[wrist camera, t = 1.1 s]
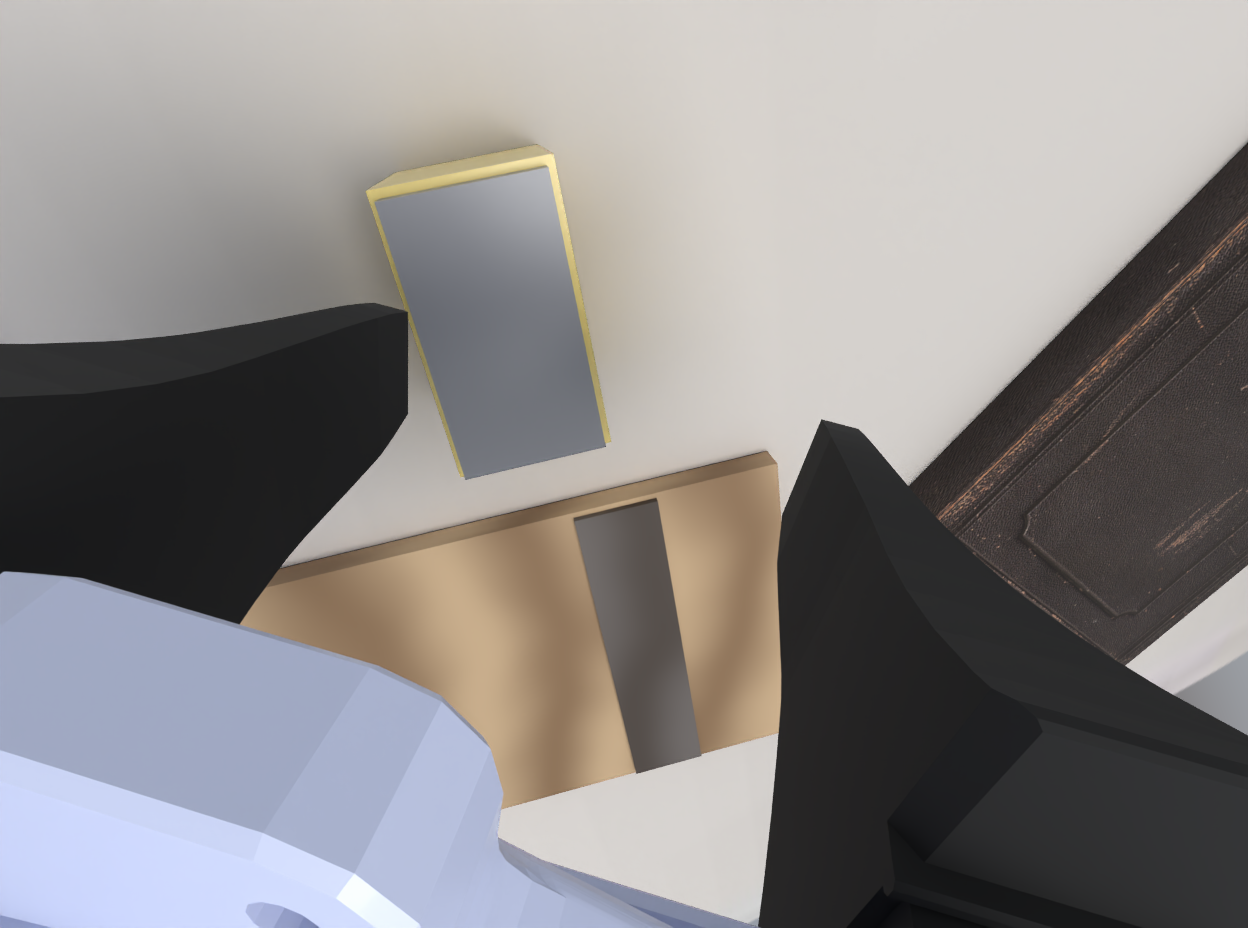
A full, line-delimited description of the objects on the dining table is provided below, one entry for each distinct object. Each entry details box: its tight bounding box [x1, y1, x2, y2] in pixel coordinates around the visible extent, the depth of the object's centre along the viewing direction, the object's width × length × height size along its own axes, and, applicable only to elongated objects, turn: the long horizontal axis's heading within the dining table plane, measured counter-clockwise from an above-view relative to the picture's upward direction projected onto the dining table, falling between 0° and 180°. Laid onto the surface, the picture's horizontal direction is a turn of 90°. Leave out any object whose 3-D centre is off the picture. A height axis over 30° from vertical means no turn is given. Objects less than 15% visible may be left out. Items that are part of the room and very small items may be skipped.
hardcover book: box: [909, 144, 1248, 666], centre depth 27 cm, size 16×23×2 cm
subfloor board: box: [240, 451, 781, 809], centre depth 27 cm, size 20×14×1 cm
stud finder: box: [366, 144, 611, 480], centre depth 18 cm, size 4×7×6 cm, turn 10°
